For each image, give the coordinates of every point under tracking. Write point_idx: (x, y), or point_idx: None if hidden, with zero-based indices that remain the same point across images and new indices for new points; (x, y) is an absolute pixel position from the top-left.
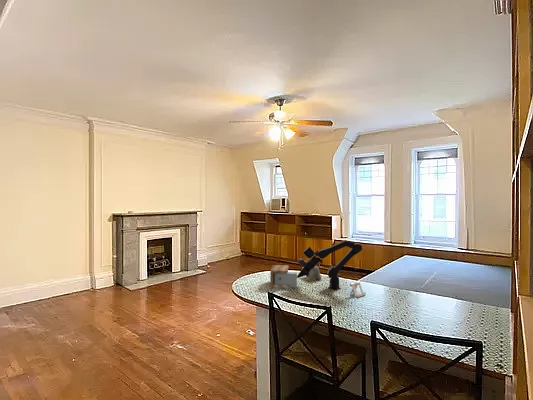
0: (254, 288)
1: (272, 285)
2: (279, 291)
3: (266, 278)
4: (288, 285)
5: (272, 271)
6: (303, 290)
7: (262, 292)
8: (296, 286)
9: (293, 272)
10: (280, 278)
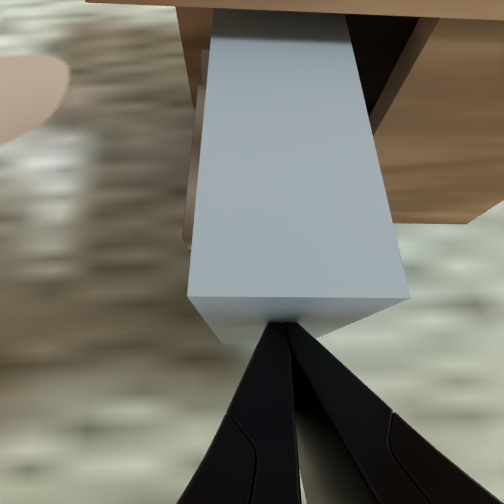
0: (161, 6)
1: (191, 83)
2: (59, 162)
3: None
4: (187, 227)
5: None
6: (72, 469)
7: (46, 51)
8: (221, 342)
9: (368, 185)
10: (201, 67)
